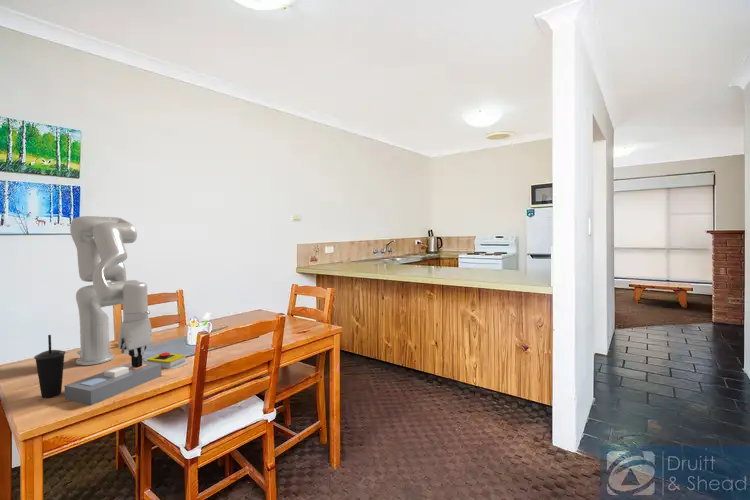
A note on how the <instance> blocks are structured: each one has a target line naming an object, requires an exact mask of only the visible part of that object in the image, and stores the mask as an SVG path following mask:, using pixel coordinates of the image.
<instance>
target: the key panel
mask: <svg viewBox="0 0 750 500" xmlns="http://www.w3.org/2000/svg"><path fill="white" fill-rule="evenodd" d="M142 364H147V365H148V366H145V367H142V368H140V369H137V370H131V369H129V373H126V374H124V375H121V376H118V377H116V378H112V377H106V376H104V371H103V372H99V373H97V374H94V375H91V376H88V377H85V378H83V379H80V380H77V381H74V382H71V383H69V384H65V385H64V387H63V388H64V400H67V401H70V402H75V403H79V404H85V405H88V404H89V406H93V405H94V404H95V405H96V404H97V403H100V402H102V401H105V400H107V399H109V398H112V397H114V396H117V395H119V394H121V393H124V392H126V391H128V390H131V389H134V388H135V387H138V386H141V385H143V384H145V383H147V382H150V381H152V380H155V379H157V378H159V377H161V376H162V368H161V364H158V363H152V362H147V361H144V360H142ZM131 365H132V362H129V363H126V364H122V365H121V366H123V367H128V366H131ZM95 378H100V379H106V380H107V381H105V382H102V383H100V384H97V385H94V386H92V387H90V386H85V385H81V383H83V382H86V381H89V380H92V379H95Z"/></svg>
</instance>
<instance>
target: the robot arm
mask: <svg viewBox="0 0 750 500" xmlns="http://www.w3.org/2000/svg"><path fill="white" fill-rule="evenodd" d="M69 225H70V227H69V231H70V236H71V238H72V241H73V243H74V246H75V248H76V255H77V267H78V274H79V278H80V280H81V281H82V282H89V283H92V284H91V285H86V286H82V287H80V288H79V289H78V290H77V291H76V294H75V300H76V304H77V309H78V315H79V335H80V338H79V339H80V342H79V343H80V349H79V350H78V351H76V354H77V355H79V358H77V359H76V360H75V364H76V365H78V366H94V365H98V364H102V363H106V362H109V361H111V360H113V359H114V358H115V355H114V353H111V352H110V326H109V325H110V323H109V316H108V314H107V313H106V312H105V311H104V310H103V309H102V308H105V307H111V306H118V305H122V317H123V320H122V322H120V326H119V331H118V349H119V350H121V351H120V354H121V355H129V357H131V358H130V359H131V362H132V367H139V366H142V361H143V355H144V354H145V351H146V349H148V348H149V347H151V346H152V342H153V331H152V329H153V328H152V324H151V320H150V317H149V315H150V313H151V311H150V310H149V304H148V300H149V299H148V284H147V283H146V282H142V281H139V280H136V279H135V280H134V279H130V280H127V271H126V266H125V263H124V262H125V261H126V260H127V258H128V253H127V250H126V248H125V244H133V243H135V242H136V240H137V238H138V232H137V230H136V227H135V226H134V224H132V223H131V222H129V221H127V220H126V219H123V218H121V217H113V216H99V215H98V216H97V215H95V216H91V215H90V216H89V215H85V216H84V215H83V216H77V217H73V219H72V220H71V222H70V224H69ZM107 281H108V282H107ZM131 362H130V363H131Z"/></svg>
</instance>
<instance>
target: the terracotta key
mask: <svg viewBox="0 0 750 500" xmlns="http://www.w3.org/2000/svg"><path fill="white" fill-rule="evenodd" d="M145 366H148V365H147V364H142V366H139V367H132V365H131V366H128V367H129V369H131V370H137V369H140V368H142V367H145Z"/></svg>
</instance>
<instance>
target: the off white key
mask: <svg viewBox="0 0 750 500" xmlns="http://www.w3.org/2000/svg"><path fill="white" fill-rule="evenodd" d="M103 372H104V376H106V377H112V378H116V377H118V376H121V375H124V374H126V373H129V367H123V366H122V365H117V366H114V367H111V368H108V369H105V370H103Z"/></svg>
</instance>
